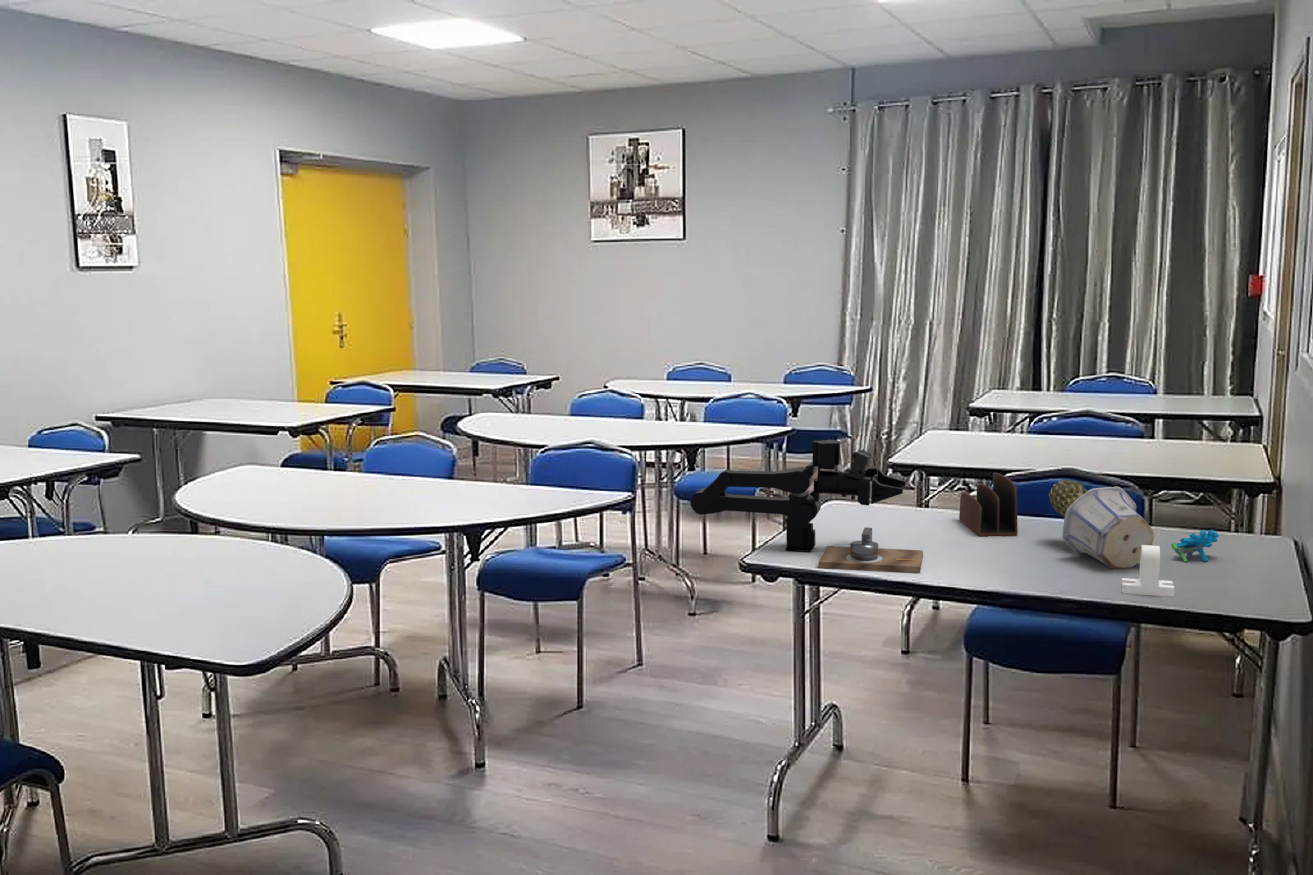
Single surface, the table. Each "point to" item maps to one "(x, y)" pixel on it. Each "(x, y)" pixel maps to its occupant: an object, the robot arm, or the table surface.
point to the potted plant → (1101, 523)
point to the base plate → (873, 560)
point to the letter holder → (991, 508)
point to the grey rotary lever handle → (864, 547)
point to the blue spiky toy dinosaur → (1195, 544)
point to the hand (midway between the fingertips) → (904, 487)
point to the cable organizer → (1148, 576)
